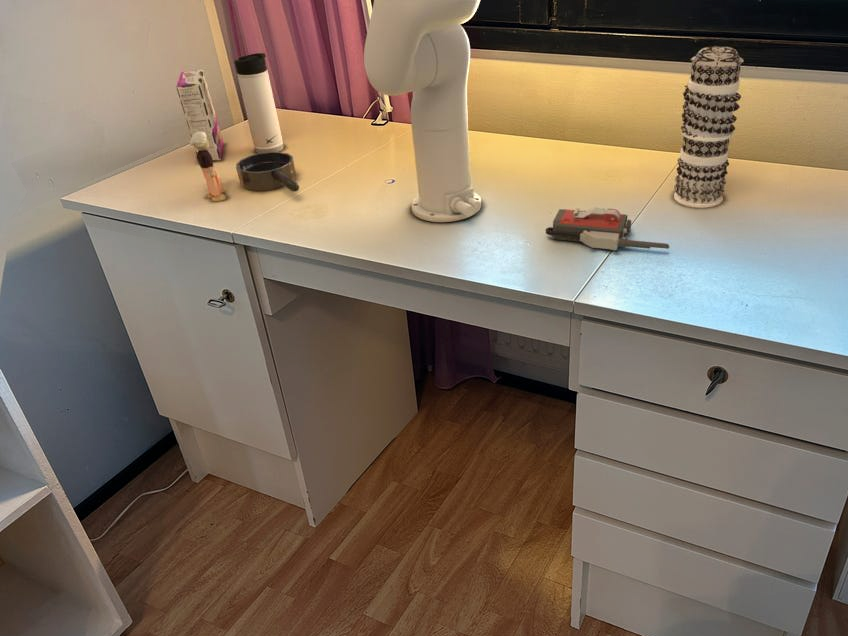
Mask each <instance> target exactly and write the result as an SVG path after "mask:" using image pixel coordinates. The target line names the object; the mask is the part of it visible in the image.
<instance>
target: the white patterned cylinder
mask: <svg viewBox="0 0 848 636" xmlns="http://www.w3.org/2000/svg"><path fill="white" fill-rule="evenodd" d="M690 62H691V70H690V77H689V78H688V83H687V84H686V85H684V91H683V92H682V96H683V100H684V102H683V104H682V109H683V113H681V120H682V125H681V127H680V129H681V135H682V136H683V137H682V138H683V139H682V146H681V147H680V155H679V158H677V165H678V166H677V167H676V173H677V175H676V176H675V178H674V181H675V185H674V186H673V187H674V193H673V198H674V200H675V201H676V202H677V203H678V204H680V205H683V206H686V207H691V208H697V209H698V208H701V209H705V208H712V207H715V206H718V205H720V204H721V203H722V202H723V201H724V198H723V197H724V196H723V194H724V193H725V191H726V190H725V185H726V184H727V180H726V175H727V174H728V170H727V168H728V166H729V165H730V162H729V159H728V157H729V152H730V151H729V145H730V139H731V138H732V137H733V135H734V131H735V130H736V126H734V123H736V121H737V119H738V118H737V116H735V115H734V112H736V111H737V110H739V109H740V105H739V104H738V103H737V102H738V101H740V100H741V98H742V95H741V94H740V93H739V87H740V82H741V81H740V80H741V79H740V74H741V65H742V64H743V63H744V58H742V57H740V55H739V53H738V51H737V50H736V49H735V48H733V47H731V46H722V45H711V46H706V47H703V48H701V49H700V50H699V51H698V52H697V53H696V55H694V56H692V58H690Z"/></svg>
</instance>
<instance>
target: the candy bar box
mask: <svg viewBox="0 0 848 636" xmlns="http://www.w3.org/2000/svg"><path fill="white" fill-rule="evenodd" d="M175 88H176V91H177V94H178V97H179V98H178V99H179V101H180V104H181V107H182V108H181V109H182V111H183V114H184V117H185V121H186V124H187V127H188V131H189V134H190V136H191V138H192V136H193V134H194V133H196V132H201V131H202V132H204V133H205V134H206V136H207V140H208V142H209V148H208V149H207V150H208V152H209V153H210V154H211V156H212V159H213V162H218V161H222V155H223V148H224V139H223V137H222V133H221V130H220V125H219V122H218V119H217V116H216V115H217V114H216V112H215V108H214V104H213V100H212V97H211V93H210V90H209V85H208V83H207V79H206V76H205V72H204V69H195V70H186V71H181V72H180V74H179V77H178V80H177V83H176V86H175ZM193 147H194V150H195V154H196V155H197V153H198V151H199V150H197V149H196V147H195V146H194V145H193Z"/></svg>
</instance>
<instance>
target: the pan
mask: <svg viewBox="0 0 848 636" xmlns="http://www.w3.org/2000/svg"><path fill="white" fill-rule="evenodd" d="M235 165H236V166H235V169H236V172H237V176H238V179H239V180H238V181H239V184H240V185H241V187H243V188H245V189H247V190H249V191H254V192H269V191H274V190H278V189H282V188H285V186H284V185H283V184H281V183H280V182H279V181H277V180H276V179H274V178H273V172H274V171H275V170H279V171H281V172H282V173H284V174H285V175H286V176H288V177H289V178H291V179H292V180H294V181H295V179H296V178H297V170H296V166H295V161H294V156H293V155H291V154H290V153H288V152H283V151H279V152H265V153H255V154H250V155H248V156H246V157H244V158H241V159H240V160H239V161H238V162H236V164H235Z"/></svg>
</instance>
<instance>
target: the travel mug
mask: <svg viewBox="0 0 848 636" xmlns="http://www.w3.org/2000/svg"><path fill="white" fill-rule="evenodd" d="M266 57H267V56H266V53H265V52H257V53H252V54H247V55H244V56H240V57H239V58H238V59H235V60H234V68H235V71H236V76H237V80H238V86H239V88H240V93H241V97H242V102H243V106H244V110H245V114H246V118H247V122H248V127H249V131H250V136H251V139H252V144H253V148H254V151H255V153H256V154H258V153H265V152H282V151H283V150H284V147H285V146H284V142H283V137H282V131H281V127H280V122H279V117H278V113H277V108H276V104H275V98H274V93H273V90H272V85H271V80H270V75H269V71H268V67H267V63H266Z"/></svg>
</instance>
